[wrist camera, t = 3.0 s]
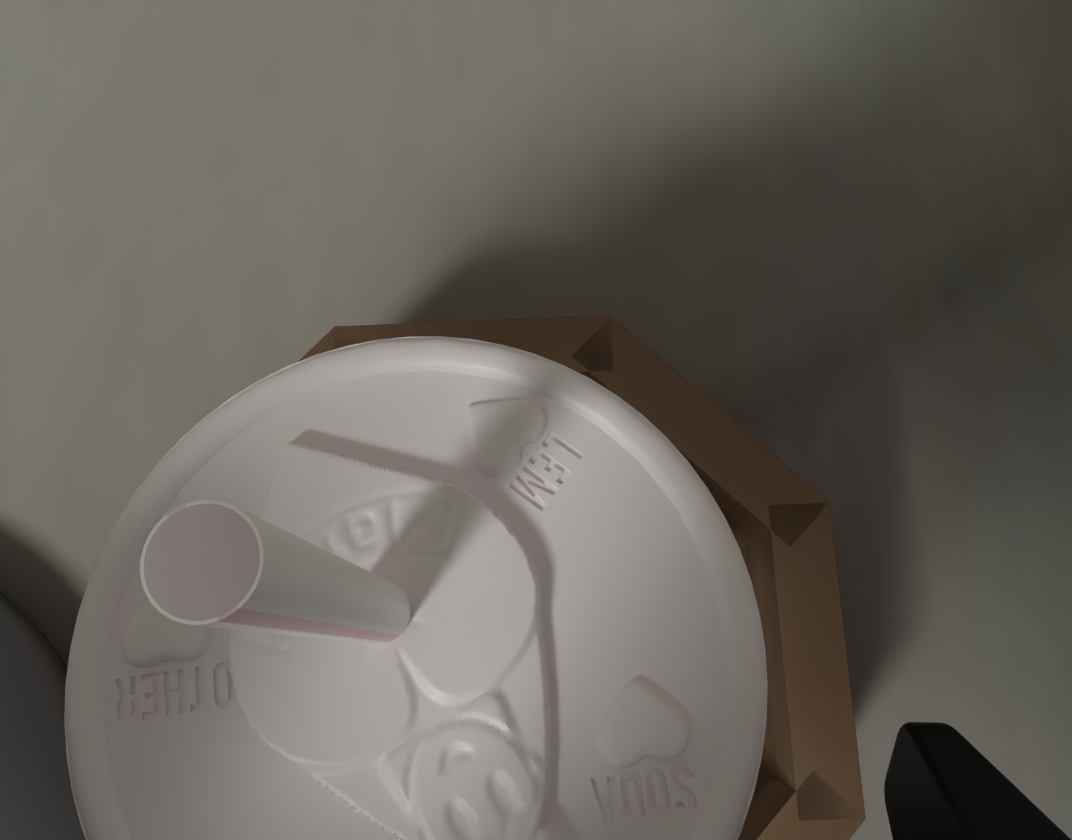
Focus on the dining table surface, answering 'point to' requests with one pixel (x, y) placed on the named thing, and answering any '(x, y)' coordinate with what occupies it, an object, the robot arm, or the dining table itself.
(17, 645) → the rubber mat
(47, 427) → the dining table surface
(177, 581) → the smoothie
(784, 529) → the brown octagonal holder
